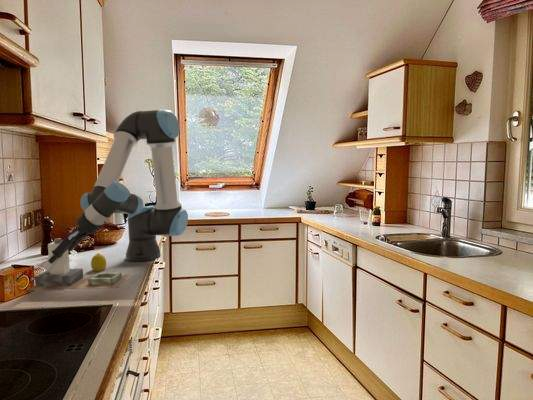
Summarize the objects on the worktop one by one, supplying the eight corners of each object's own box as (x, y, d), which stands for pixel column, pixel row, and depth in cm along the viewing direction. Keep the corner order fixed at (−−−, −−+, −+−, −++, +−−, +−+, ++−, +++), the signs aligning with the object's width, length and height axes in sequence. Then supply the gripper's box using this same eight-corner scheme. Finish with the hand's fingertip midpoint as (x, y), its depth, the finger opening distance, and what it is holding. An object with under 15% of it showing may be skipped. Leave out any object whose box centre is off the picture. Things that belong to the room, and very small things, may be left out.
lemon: (99, 276, 161) (98, 255, 160) (88, 274, 163) (87, 254, 162) (109, 272, 166) (108, 252, 165) (99, 271, 168) (97, 251, 167)
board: (132, 278, 156) (132, 264, 156) (117, 292, 140) (116, 276, 140) (52, 280, 156) (51, 266, 156) (27, 293, 140) (26, 278, 140)
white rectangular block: (70, 277, 150) (67, 237, 149) (64, 280, 146) (62, 239, 145) (56, 278, 150) (53, 237, 149) (50, 281, 146) (47, 240, 145)
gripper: (90, 230, 138) (43, 280, 140) (109, 222, 155) (67, 267, 157) (73, 214, 137) (26, 265, 139) (94, 208, 154) (52, 253, 156)
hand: (48, 266), depth 148 cm, fingers closed on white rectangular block, 4 cm apart
